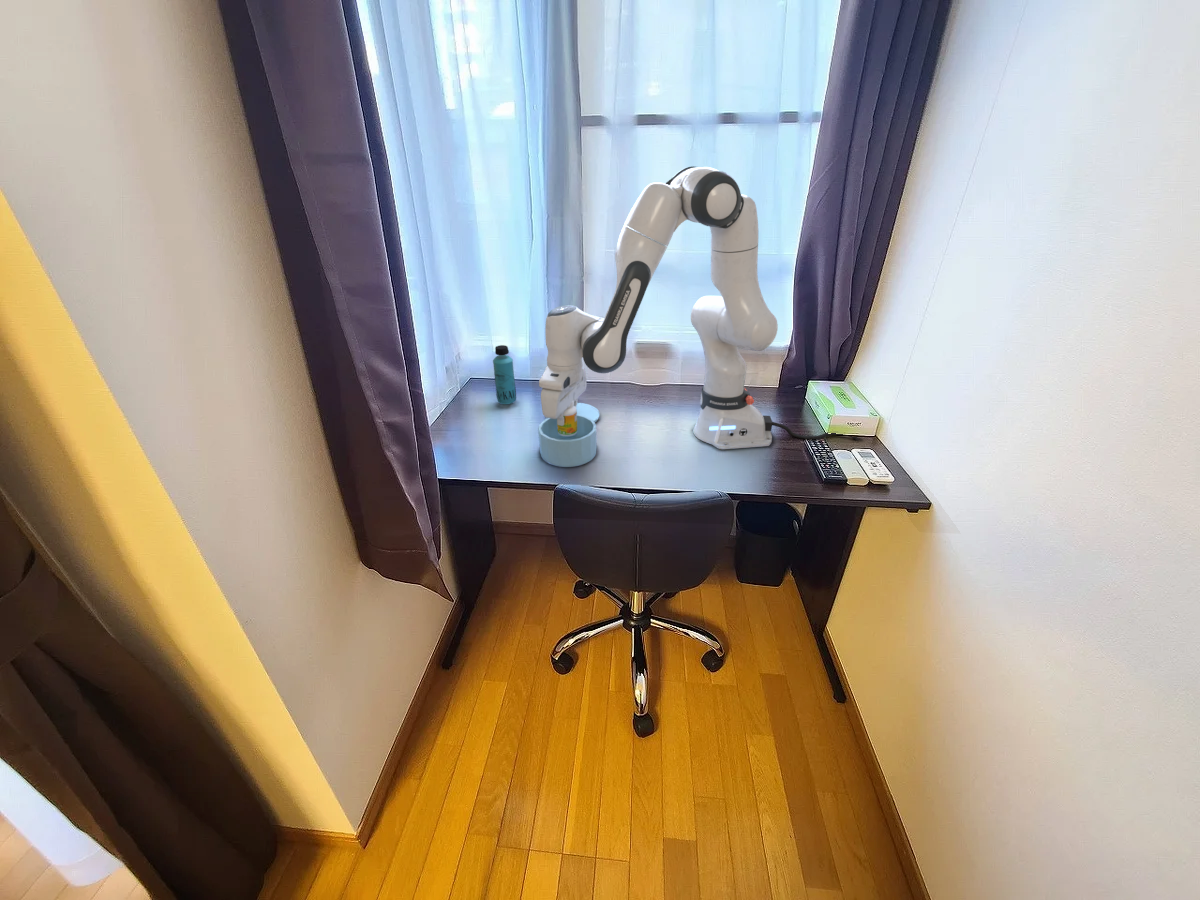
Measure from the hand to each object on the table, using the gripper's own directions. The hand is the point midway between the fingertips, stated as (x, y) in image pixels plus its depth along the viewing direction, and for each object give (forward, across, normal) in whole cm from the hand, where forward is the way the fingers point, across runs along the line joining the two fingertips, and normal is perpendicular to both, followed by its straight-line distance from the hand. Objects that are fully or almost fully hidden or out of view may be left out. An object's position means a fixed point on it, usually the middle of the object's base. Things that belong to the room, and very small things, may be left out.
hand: (566, 418), depth 136 cm
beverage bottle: (+11, -20, -32) cm, 39 cm away
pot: (+10, 0, 0) cm, 11 cm away
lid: (+10, -20, -8) cm, 23 cm away
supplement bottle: (+4, 0, 0) cm, 4 cm away
